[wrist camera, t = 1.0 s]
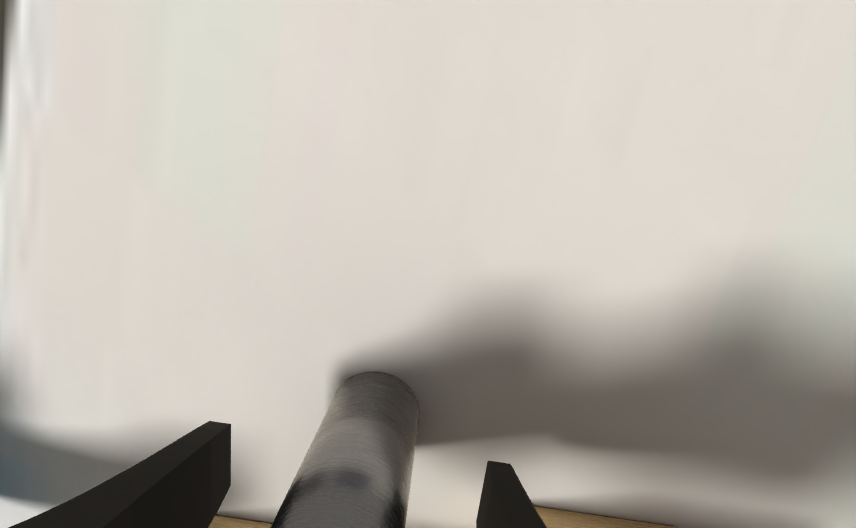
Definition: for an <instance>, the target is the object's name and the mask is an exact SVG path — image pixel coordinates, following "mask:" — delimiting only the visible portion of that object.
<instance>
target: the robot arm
mask: <svg viewBox="0 0 856 528" xmlns="http://www.w3.org/2000/svg"><path fill="white" fill-rule="evenodd" d="M230 485H231V424H226V423H219V422H212V421H209V422H207V423H205V424H203V425H202V426H200V427H198V428H196V429H195V430H193V431H191V432H190V433H188V434H186V435H185V436H183V437H182V438H180V439H178V440H177V441H175V442H173V443H172V444H170V445H168V446H167V447H165V448H163V449H162V450H160V451H158V452H157V453H155V454H153V455H152V456H150V457H148V458H147V459H145V460H143V461H141V462H140V463H138V464H136V465H135V466H133V467H131V468H129V469H127V470H126V471H124V472H122V473H120V474H118V475H116V476H115V477H113V478H111V479H109V480H107V481H106V482H104V483H102V484H100V485H98V486H96V487H95V488H93V489H91V490H89V491H87V492H85V493H83V494H81V495H79V496H77V497H75V498H73V499H71V500H69V501H67V502H65V503H63V504H61V505H59V506H56V507H54V508H52V509H50V510H48V511H46V512H44V513H41V514H39V515H37V516H35V517H33V518H30V519H28V520H26V521H23V522H21V523H18V524H16V525H14V526H11V527H9V528H208V527H209V525H210V524H211V522H212V520H213V519H214V517H215V515H216V513H217V511H218V509H219V507H220V505H221V503H222V501H223V499H224V497H225V495H226V493H227V491H228V489H229V487H230ZM476 528H547V527H546V525H545V524H544V522H543V520H542V519H541V517H540V516H539V514H538V512H537V511H536V509H535V507H534V505H533V504H532V502H531V500H530V499H529V497H528V495H527V493H526V491H525V490H524V488H523V486H522V484H521V482H520V480H519V479H518V477H517V475H516V473H515V471H514V469H513V467H512V466H511V465H510V464H507V463H500V462H493V461H488V463H487V468H486V473H485V478H484V484H483V489H482V494H481V499H480V505H479V510H478V515H477V521H476Z"/></svg>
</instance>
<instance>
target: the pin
mask: <svg viewBox="0 0 856 528" xmlns="http://www.w3.org/2000/svg"><path fill="white" fill-rule="evenodd" d="M418 421H419V406H418V402H417V400H416V397H415V395H414V394H413V392H412V391H411V389H410V388H409V387H408V386H407V385H406V384H405V383H403V382H402V381H401V380H399V379H398V378H396V377H394V376H392V375H389V374H386V373H381V372H366V373H361V374H358V375H355V376H353V377H351V378H349V379H348V380H347V381H345V382H344V383H343V384H342V385H341V386H340V388H339V389H338V390H337V392H336V394H335V396H334V398H333V401H332V403H331V405H330V407H329V409H328V411H327V413H326V415H325V417H324V419H323V421H322V423H321V425H320V427H319V429H318V431H317V433H316V435H315V438H314V440H313V442H312V444H311V446H310V448H309V450H308V452H307V454H306V456H305V458H304V460H303V462H302V464H301V466H300V468H299V470H298V472H297V474H296V477H295V479H294V481H293V483H292V485H291V487H290V489H289V491H288V493H287V495H286V497H285V499H284V501H283V503H282V505H281V507H280V509H279V511H278V514H277V516H276V518H275V520H274V522H273V524H272V526H271V528H405V523H406V515H407V507H408V499H409V492H410V484H411V476H412V468H413V460H414V452H415V444H416V437H417V429H418Z"/></svg>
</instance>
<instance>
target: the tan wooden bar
mask: <svg viewBox="0 0 856 528" xmlns="http://www.w3.org/2000/svg"><path fill="white" fill-rule="evenodd" d="M534 507H535V509H536V511H537V512H538V514H539V516H540V517H541V519H542V520H543V522H544V524H545V525H546V527H547V528H677V527H673V526H666V525H659V524H652V523H645V522H639V521H632V520H625V519H618V518H611V517H604V516H598V515H591V514H584V513H577V512H570V511H563V510H556V509H550V508H543V507H536V506H534ZM271 526H272V524H270V523H263V522H256V521H249V520H243V519H236V518H229V517H223V516H216V515H215V517H214V519H213V520H212V522H211V524H210V525H209V527H208V528H271Z"/></svg>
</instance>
